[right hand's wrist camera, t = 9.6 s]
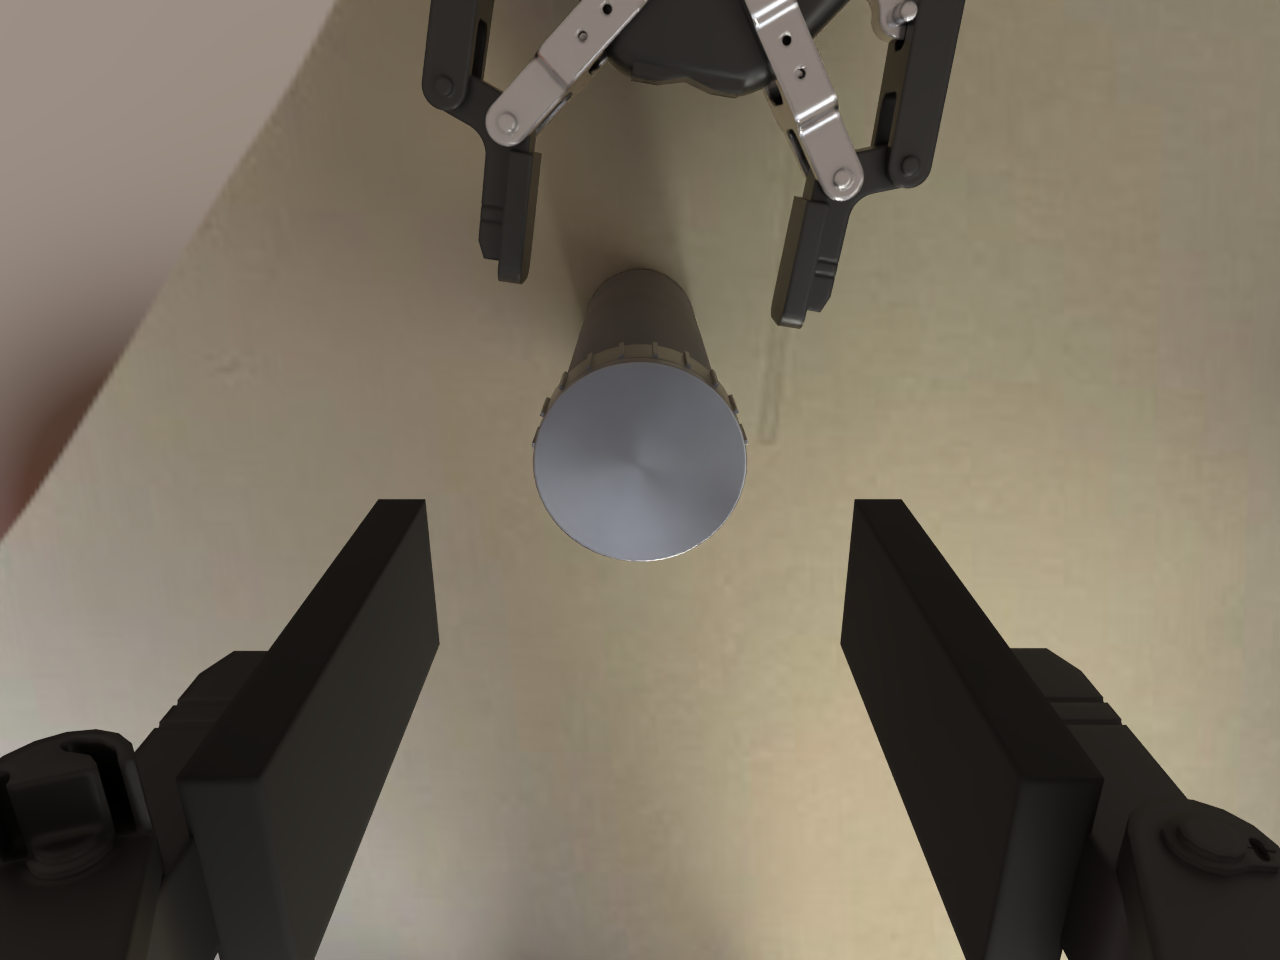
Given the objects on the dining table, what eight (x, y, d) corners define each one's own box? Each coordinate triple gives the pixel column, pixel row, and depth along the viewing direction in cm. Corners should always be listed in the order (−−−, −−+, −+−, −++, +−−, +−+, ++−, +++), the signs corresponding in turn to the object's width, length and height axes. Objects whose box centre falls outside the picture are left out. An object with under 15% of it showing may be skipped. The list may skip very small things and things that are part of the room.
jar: (570, 290, 33) (517, 402, 19) (674, 253, 33) (701, 341, 18) (607, 391, 35) (584, 566, 20) (707, 357, 34) (756, 513, 20)
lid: (508, 379, 20) (496, 400, 18) (706, 312, 20) (712, 327, 18) (580, 556, 22) (575, 589, 20) (765, 499, 21) (775, 528, 20)
